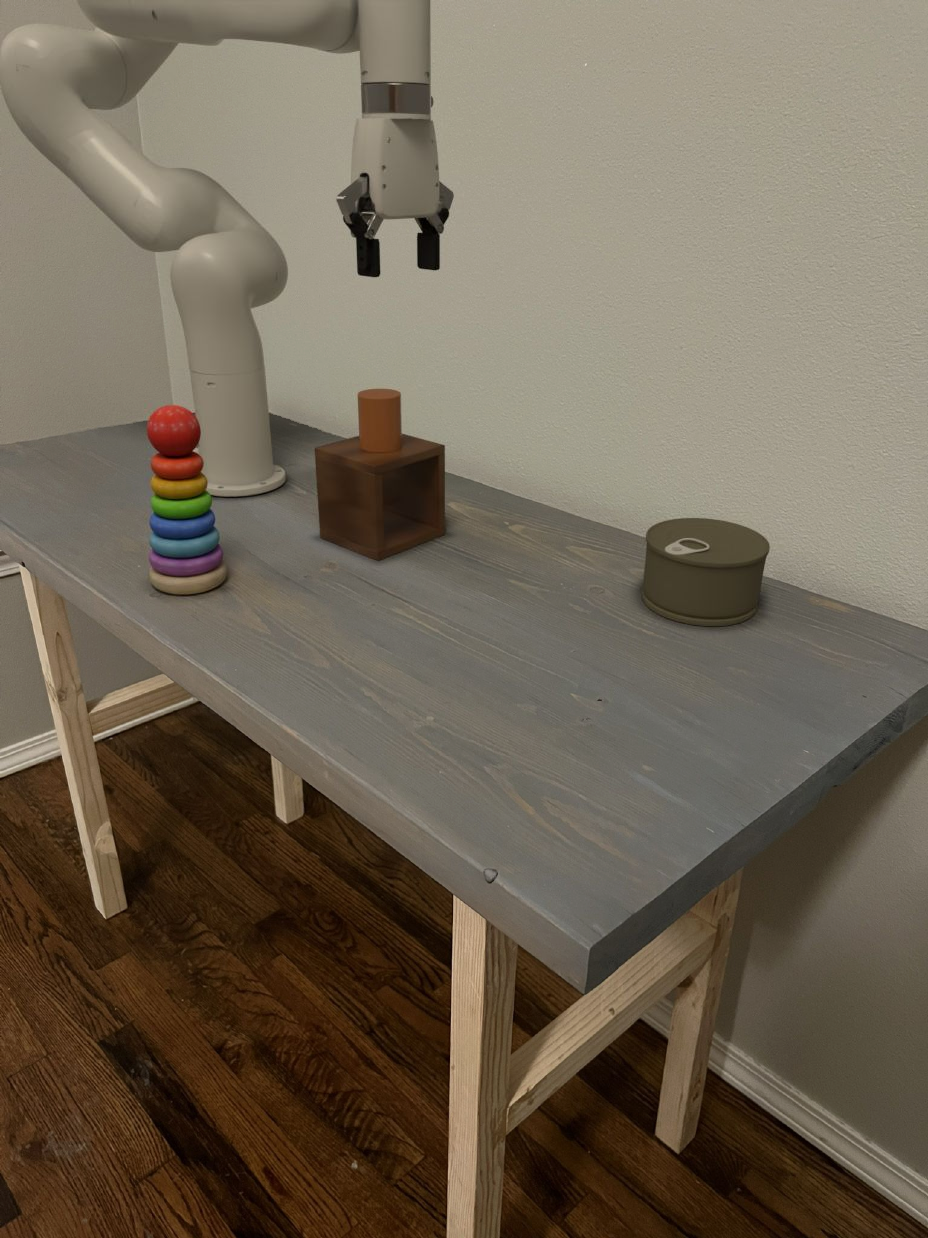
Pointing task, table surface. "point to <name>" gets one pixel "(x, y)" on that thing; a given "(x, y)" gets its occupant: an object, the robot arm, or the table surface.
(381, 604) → the table surface
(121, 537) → the table surface
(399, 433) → the copper tin
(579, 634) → the table surface
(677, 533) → the can
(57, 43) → the robot arm
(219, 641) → the table surface
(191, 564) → the stacking toy
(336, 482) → the shelf
